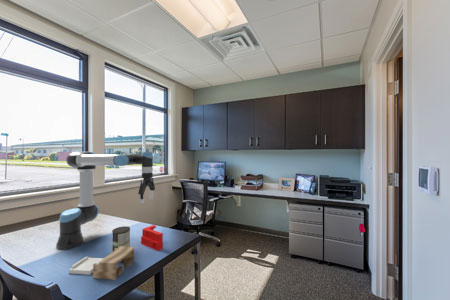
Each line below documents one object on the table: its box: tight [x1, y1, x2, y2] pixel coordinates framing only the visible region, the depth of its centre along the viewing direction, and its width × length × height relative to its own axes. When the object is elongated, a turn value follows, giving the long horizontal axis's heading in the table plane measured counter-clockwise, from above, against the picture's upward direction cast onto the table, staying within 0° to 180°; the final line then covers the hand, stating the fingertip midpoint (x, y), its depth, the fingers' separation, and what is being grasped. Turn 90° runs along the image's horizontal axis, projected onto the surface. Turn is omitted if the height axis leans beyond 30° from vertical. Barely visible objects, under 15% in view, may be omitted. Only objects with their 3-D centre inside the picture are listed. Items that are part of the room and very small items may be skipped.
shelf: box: [92, 246, 135, 281], centre depth 108 cm, size 12×17×8 cm
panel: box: [68, 256, 105, 276], centre depth 110 cm, size 12×12×4 cm
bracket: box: [140, 224, 164, 252], centre depth 137 cm, size 18×10×10 cm
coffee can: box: [111, 225, 131, 253], centre depth 128 cm, size 10×10×14 cm
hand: (147, 201), depth 146 cm, fingers open, 13 cm apart
